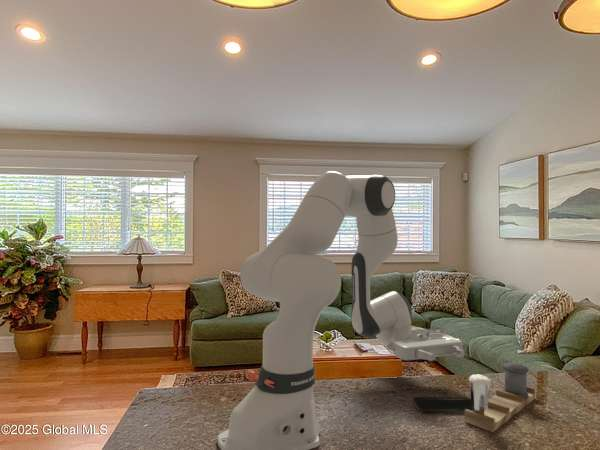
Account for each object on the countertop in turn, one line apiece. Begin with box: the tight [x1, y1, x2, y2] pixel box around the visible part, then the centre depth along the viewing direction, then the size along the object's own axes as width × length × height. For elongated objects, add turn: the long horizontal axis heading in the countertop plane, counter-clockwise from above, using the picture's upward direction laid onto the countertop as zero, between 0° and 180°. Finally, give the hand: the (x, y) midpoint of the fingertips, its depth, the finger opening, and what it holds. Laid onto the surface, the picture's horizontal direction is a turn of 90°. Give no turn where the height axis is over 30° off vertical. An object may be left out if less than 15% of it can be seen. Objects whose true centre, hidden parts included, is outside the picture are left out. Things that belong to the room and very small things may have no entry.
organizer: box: [464, 385, 536, 433], centre depth 101 cm, size 26×6×3 cm, turn 132°
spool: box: [502, 362, 529, 398], centre depth 107 cm, size 6×6×7 cm
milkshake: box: [468, 371, 495, 416], centre depth 95 cm, size 4×5×10 cm
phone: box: [412, 396, 472, 415], centre depth 102 cm, size 8×1×15 cm
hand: (447, 356), depth 106 cm, fingers open, 8 cm apart
